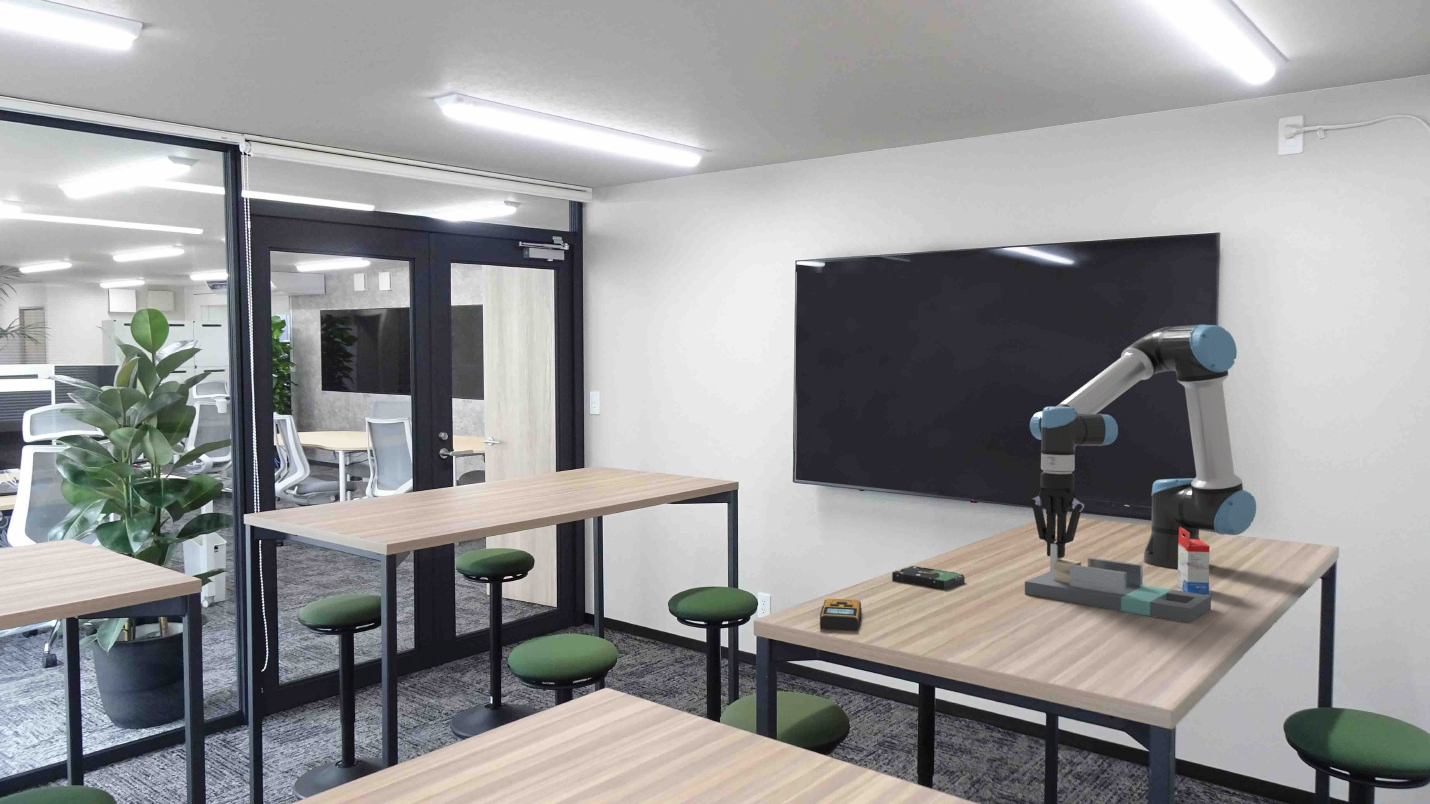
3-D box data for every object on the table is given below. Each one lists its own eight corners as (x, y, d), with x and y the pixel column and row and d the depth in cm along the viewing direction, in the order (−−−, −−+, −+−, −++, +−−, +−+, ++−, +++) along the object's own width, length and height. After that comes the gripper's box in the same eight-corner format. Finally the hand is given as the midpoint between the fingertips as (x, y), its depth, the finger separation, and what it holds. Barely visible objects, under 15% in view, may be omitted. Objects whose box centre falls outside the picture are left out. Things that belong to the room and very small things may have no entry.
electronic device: (862, 614, 203) (862, 598, 203) (859, 633, 188) (859, 616, 188) (823, 611, 205) (823, 596, 205) (818, 630, 190) (818, 614, 189)
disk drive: (891, 583, 232) (945, 591, 222) (891, 572, 232) (945, 580, 222) (911, 576, 240) (965, 584, 230) (911, 565, 240) (965, 572, 230)
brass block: (1062, 577, 222) (1062, 558, 222) (1080, 580, 219) (1081, 561, 219) (1054, 580, 219) (1054, 561, 219) (1073, 583, 216) (1073, 564, 215)
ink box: (1209, 595, 217) (1211, 533, 216) (1186, 594, 218) (1188, 532, 217) (1198, 587, 225) (1199, 526, 225) (1176, 586, 226) (1177, 526, 226)
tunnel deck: (1051, 582, 229) (1051, 550, 229) (1210, 609, 205) (1211, 573, 205) (1024, 593, 218) (1025, 560, 218) (1190, 622, 194) (1190, 584, 194)
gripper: (1024, 470, 222) (1022, 568, 223) (1078, 475, 213) (1076, 577, 214) (1037, 468, 227) (1035, 564, 228) (1091, 472, 218) (1089, 572, 219)
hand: (1055, 570), depth 221 cm, fingers closed
